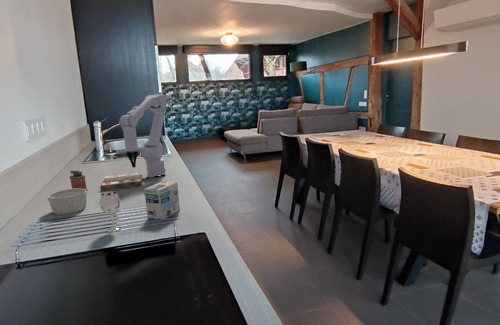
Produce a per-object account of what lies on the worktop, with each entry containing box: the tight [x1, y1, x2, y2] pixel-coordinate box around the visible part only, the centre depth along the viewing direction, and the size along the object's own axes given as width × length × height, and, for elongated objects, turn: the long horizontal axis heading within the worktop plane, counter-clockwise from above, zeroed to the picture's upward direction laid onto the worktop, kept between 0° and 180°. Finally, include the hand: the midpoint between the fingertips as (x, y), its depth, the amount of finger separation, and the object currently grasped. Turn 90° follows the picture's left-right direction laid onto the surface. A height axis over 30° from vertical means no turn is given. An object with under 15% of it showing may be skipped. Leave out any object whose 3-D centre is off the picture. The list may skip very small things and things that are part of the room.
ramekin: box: [47, 188, 88, 216], centre depth 130 cm, size 13×13×7 cm
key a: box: [129, 172, 141, 180], centre depth 167 cm, size 4×4×3 cm
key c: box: [103, 175, 115, 182], centre depth 164 cm, size 4×4×3 cm
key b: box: [117, 173, 128, 181], centre depth 166 cm, size 4×4×3 cm
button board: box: [99, 174, 144, 192], centre depth 164 cm, size 18×15×2 cm
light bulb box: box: [143, 180, 181, 221], centre depth 119 cm, size 11×7×11 cm, turn 157°
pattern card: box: [101, 179, 140, 185], centre depth 160 cm, size 17×4×1 cm, turn 106°
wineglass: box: [99, 190, 122, 233], centre depth 107 cm, size 6×6×12 cm
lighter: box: [69, 170, 88, 192], centre depth 157 cm, size 8×3×10 cm, turn 71°
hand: (134, 167), depth 166 cm, fingers closed
